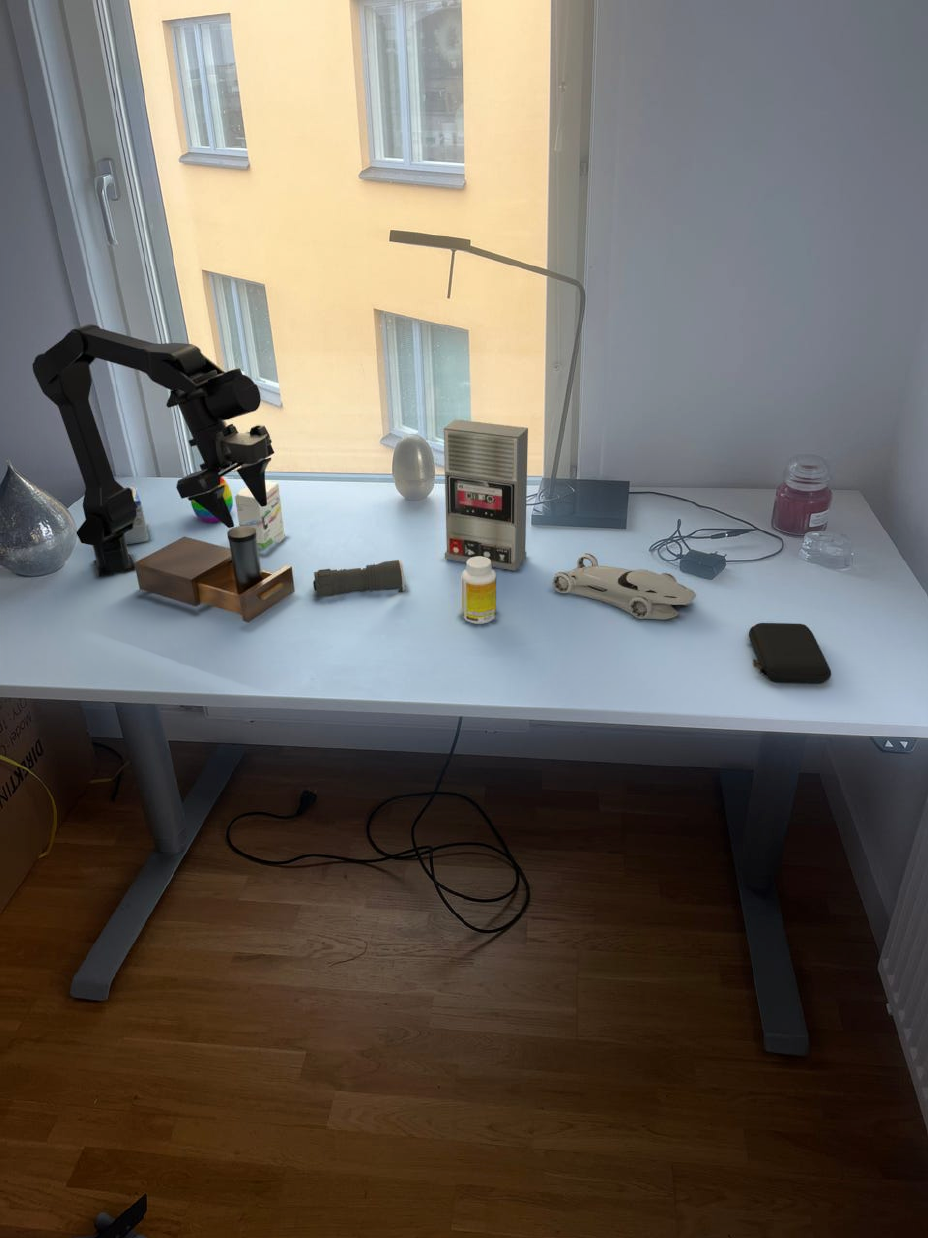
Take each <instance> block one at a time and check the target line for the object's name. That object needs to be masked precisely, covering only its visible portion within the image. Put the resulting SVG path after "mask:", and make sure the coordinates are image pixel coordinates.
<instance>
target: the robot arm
mask: <svg viewBox="0 0 928 1238" xmlns="http://www.w3.org/2000/svg"><path fill="white" fill-rule="evenodd" d="M97 359H100V360H103V361H106V362H110V363H113V364H115V365H120V366H122V367H126V368H130V369H133V370H136V371H140V372H142V373H143V374H146V376H147V377H148V378H149V379H150V381H152V382H153V383H155V384H158V385H159V386H161V387H163V388H165V389H167V390H169V391H170V392H169V393H170V394H169V397H168V399H167V402H166V404H165V405H166V407H167V408H168V409H169V408H173V407H176V406H178V408H179V411H180V412H181V415H182V417H183V419H184V421H185V424H186V425H187V428H188V430H189V432H190V435H191V437H192V438H191V439H189V440H188V444H189V445H190V447H191V448H192V447H196V448H197V450H198V452H199V454H200V456H201V458H202V461H203V463H201V464H199V467H200V470H198V471H194V472H191V473H189V474H188V475H186V476H184V477H182V478H180V479H179V480H177V481H176V487H175V489H176V491H177V492H178V494H179V496H180V499H186V498H187V500H188V501H189V502H191V500H194V501H195V502H197V503H198V504H199V505H201V506H202V507H204V508H205V509H206V510H208V511H209V512H210V513H211V514H213V515H214V516H215V517H216V518H217V519H218V520H220V521H219V522H220V523H221V524H223V525H224V526H225V527H227V528H228V529H232V528H234V527H235V524H234V520H233V517H232V515H231V512H229V509H228V507H227V504H226V502H225V499H224V497H223V493H224V488H225V485H222V486H219V485H220V480H221V478H220V477H222V478H223V477H224V476H225V475H227V474H229V473H231V472H233V471H235V469H236V472H237V474H238V475H239V477H240V478H241V480H242V481H243V483H244V484H245V487H246V486H247V487H248V489H249V490H250V492H251V493H252V495H253V496H254V498H255V499H256V500H257V502H258V503H259V504H260V506H261V507H263V506H266V505H267V497H266V486H265V481H266V469H267V467H268V465H269V463H270V462H271V461H272V457H270V456H272V455H274V454H275V451H274V448H273V446H272V443H273V441H272V439H271V435H270V433H269V431H268V429H267V427H266V426H265V425H264V424H255V425H254V426H252V427H251V428H250V430H249V431H246V432H244V433H242V432H239V431H238V428H237V427H236V426H235V425H234V424H233V423H230V424H227V421H229V420H232V419H234V418H237V417H242V416H245V415H248V414H250V413H253V412H256V411H258V410H259V408H260V406H261V401H262V399H261V392H260V388H259V387H258V385H257V383H255V382H254V380H253V379H251V377H249V376H248V375H245V374H243V372H242V370H241V368H240V367H235V368H233V369H230V370H228V371H224V370H223V369H221V368H220V367H219V366H218V365H217V364H215V362H213V361H212V360H211V359H209V357H207V356H206V355H204V354H203V352H202V350H201V349H200V347H199V346H196V345H195V344H192V343H183V342H166V343H154V342H150V341H147V340H144V339H140V338H136V337H132V336H129V335H126V334H122V333H118V332H116V331H112V330H109V329H105V328H102V327H100V326H99V325H97V324H92V323H89V324H85V325H82V326H79V327H75V328H72V329H70V330H69V332H68V333H67V334H66V335H65V336H63V338H62V339H60V341H58V342H57V343H56V344H54V345H53V346H51V347H50V348H49V349H47V350H46V351H45V352H43V353H40V354H37V356H35V358H34V361H33V362H32V372H33V374H34V377H35V379H36V381H37V383H38V385H39V387H40V389H41V392H42V393H43V395H44V396H45V397H47V398H48V399H49V400H50V401H51V402H52V403H53V404H54V405H56V406H57V408H58V410H59V413H60V414H59V415H60V417H61V419H62V422H63V425H64V428H65V430H66V435H67V437H68V439H69V443H70V446H71V448H72V452H73V454H74V457H75V460H76V463H77V466H78V469H79V471H80V474H81V477H82V479H83V483H84V485H85V491H84V495H83V501H82V509H83V513H84V517H85V520H84V521H83V522H82V524H80V526H79V528H78V529H77V531H76V535H77V537H78V540H79V541H80V543H81V544H84V545H88V546H92V548H93V553H94V557H95V560H93V562H92V563H93V565H94V568H95V571H96V573H97V575H98V577H104V576H105V577H106V576H109V575H112V574H118V573H122V572H127V571H132V570H136V569H135V565H134V563H135V562H134V561H133V559H132V557H131V555H130V553H129V549H128V544H126V540H125V536H124V533H125V532H127V531H129V530H131V529H133V525H134V520H135V518H136V517H137V513H136V509H137V508H138V507H137V505H136V503H135V501H134V499H133V494H132V490H131V489H130V488H129V487H130V486H129V487H128V486H127V487H124V486H122V485H121V484H120V482H118V481H117V480H116V478H115V476H114V473H113V470H112V467H111V464H110V461H109V458H108V455H107V452H106V449H105V446H104V443H103V440H102V436H101V433H100V430H99V428H98V425H97V422H96V419H95V415H94V412H93V410H92V407H91V404H90V399H89V397H90V393H91V387H92V381H93V379H92V373H91V370H90V366H91V365H92V364H93V363H94V362H95V360H97Z"/></svg>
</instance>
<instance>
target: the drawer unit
mask: <svg viewBox="0 0 928 1238" xmlns="http://www.w3.org/2000/svg"><path fill="white" fill-rule="evenodd" d="M229 561H232V557H231V550H230V547H226V546H222V545H218V544H214V543H211V542H207V541H204V540H199V539H196V538H192V537H188V536H182V537H181V538H179V539H176V540H175V541H172V542H171V543H169V544H167V545H166V546H164V547H161V548H159V549H158V550H156V551H154V552H152V553H150V554H148V555H146V556H144V557H143V558H141V559H139V560H137V561H135V562H133V563H134V565H135V569H134V570H135V574H136V578H137V583H138V587H139V590H141V591H145V592H148V593H152V594H154V595H158V596H161V597H164V598H168V599H170V600H173V601H176V602H180V603H183V604H187V605H190V606H192V607H197V606H199V605H200V604H201V602H199V597H198V591H197V586H196V581H197V580H199V579H200V578H202V577H204V576H205V575H207V574H209V573H211V572H212V571H214V570H216V569H217V568H219V567H221V566H222V565H224V564H226V563H228V562H229Z"/></svg>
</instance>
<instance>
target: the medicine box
mask: <svg viewBox="0 0 928 1238" xmlns="http://www.w3.org/2000/svg"><path fill="white" fill-rule="evenodd" d="M129 488H130V489H131V490H132V494H133V499H134V501H135V503H136V505H137V507H138V508H137V509H136V513H137V517H136V518H135V520H134V525H133V529H131V530H129V531H127V532H125V533H124V536H125V540H126V545H133V544H139V543H145V542H148V541H149V534H148V528H147V525H146V519H145V514H144V507H143V503H142V501H141V498H140V495H139V491H138V488H137V487H136V486H129Z"/></svg>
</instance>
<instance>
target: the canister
mask: <svg viewBox="0 0 928 1238" xmlns="http://www.w3.org/2000/svg"><path fill="white" fill-rule="evenodd" d="M226 534H227V540H228V543H229V548H230V550H231V557H232V563H233V569H234V576H235V582H236V589H237V594H239V595H240V594H242V593H243V592H245V591H247V590H248V589H250V588H251V587H253V586H254V585H256V584H258V583H259V582H261V581H262V573H261V570H262V567H261V560H260V553H259V552H260V551H259V549H258V544H257V537H256V536H257V532H256V529H255V528H254V527H251V526H239V525H238V526H234V527H232V528H229V529H228V530H227V532H226Z"/></svg>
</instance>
